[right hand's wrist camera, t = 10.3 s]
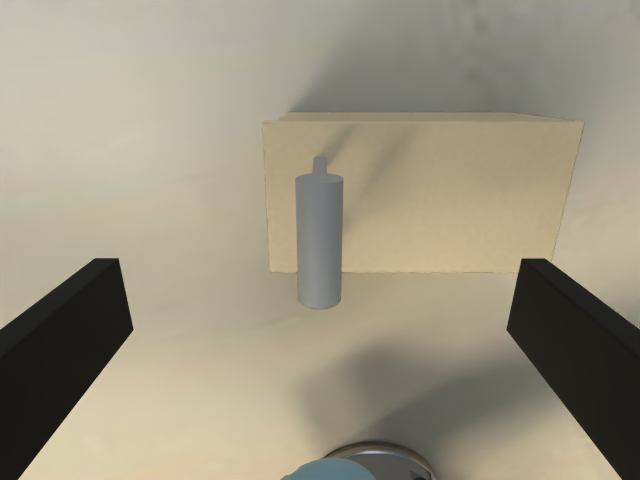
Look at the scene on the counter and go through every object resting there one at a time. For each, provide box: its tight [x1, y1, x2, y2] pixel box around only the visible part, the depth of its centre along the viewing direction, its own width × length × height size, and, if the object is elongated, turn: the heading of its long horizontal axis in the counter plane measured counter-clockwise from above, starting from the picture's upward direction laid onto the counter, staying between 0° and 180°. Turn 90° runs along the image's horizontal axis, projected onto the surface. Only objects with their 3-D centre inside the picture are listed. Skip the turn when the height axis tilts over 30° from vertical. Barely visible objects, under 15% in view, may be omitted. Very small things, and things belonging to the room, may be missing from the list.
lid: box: [262, 121, 584, 309], centre depth 20 cm, size 18×9×8 cm, turn 90°
